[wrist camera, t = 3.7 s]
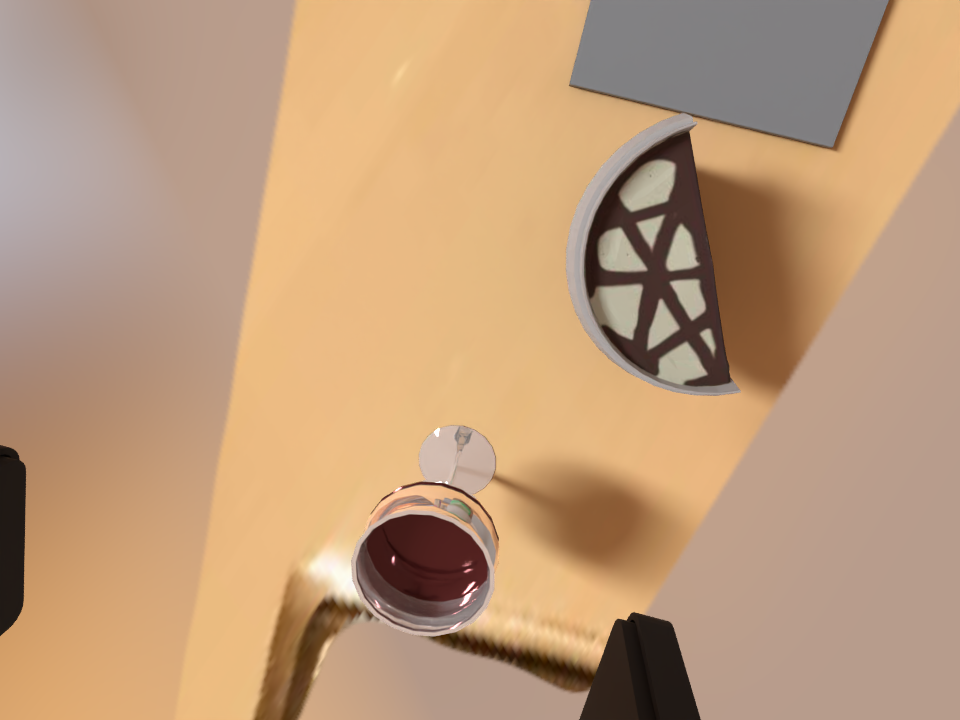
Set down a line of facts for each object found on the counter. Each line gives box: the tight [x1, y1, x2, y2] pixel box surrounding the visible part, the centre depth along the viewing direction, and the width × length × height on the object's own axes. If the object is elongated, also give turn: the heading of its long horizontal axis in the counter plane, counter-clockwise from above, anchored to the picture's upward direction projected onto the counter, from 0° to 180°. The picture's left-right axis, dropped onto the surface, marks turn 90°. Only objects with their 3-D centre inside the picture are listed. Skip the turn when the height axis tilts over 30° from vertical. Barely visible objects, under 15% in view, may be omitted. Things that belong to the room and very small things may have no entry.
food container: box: [566, 113, 740, 396], centre depth 30 cm, size 12×6×10 cm, turn 15°
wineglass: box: [351, 425, 499, 636], centre depth 34 cm, size 7×7×12 cm
